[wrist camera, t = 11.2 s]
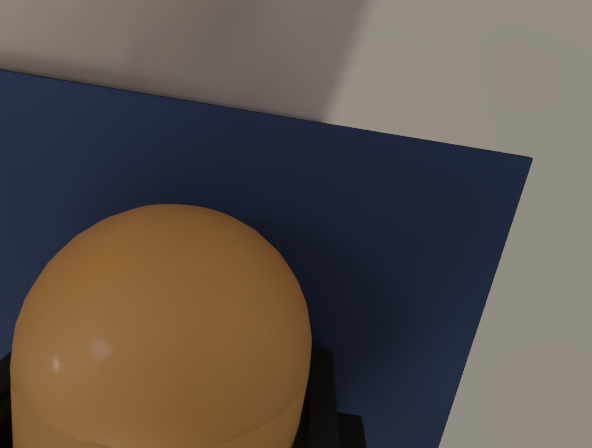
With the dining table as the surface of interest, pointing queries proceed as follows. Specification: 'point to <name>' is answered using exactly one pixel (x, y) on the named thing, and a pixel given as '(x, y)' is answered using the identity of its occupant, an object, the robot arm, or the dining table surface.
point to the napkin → (279, 224)
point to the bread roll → (162, 338)
